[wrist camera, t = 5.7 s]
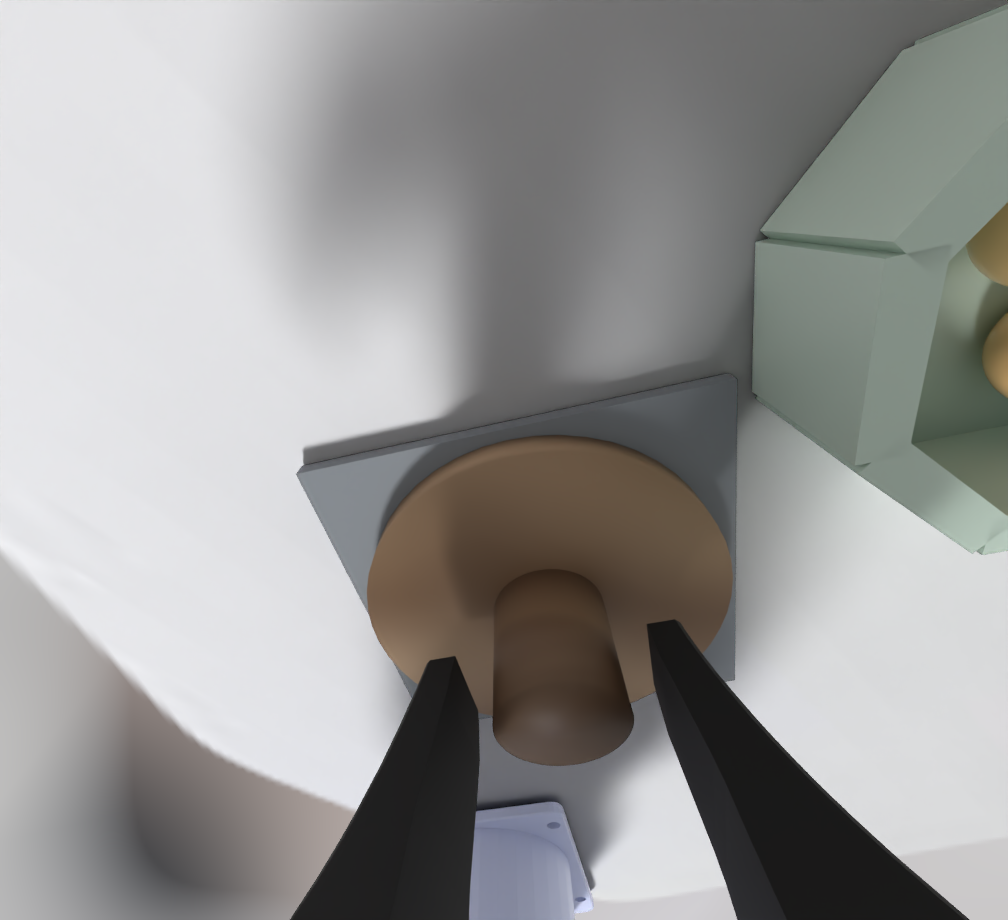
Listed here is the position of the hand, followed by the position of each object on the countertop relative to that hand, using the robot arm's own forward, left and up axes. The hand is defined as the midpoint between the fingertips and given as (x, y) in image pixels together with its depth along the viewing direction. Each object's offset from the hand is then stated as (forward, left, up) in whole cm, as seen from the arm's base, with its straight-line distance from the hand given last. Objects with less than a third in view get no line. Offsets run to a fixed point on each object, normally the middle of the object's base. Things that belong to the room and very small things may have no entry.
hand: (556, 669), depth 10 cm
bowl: (+6, -10, -3) cm, 12 cm away
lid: (0, 0, -2) cm, 2 cm away
